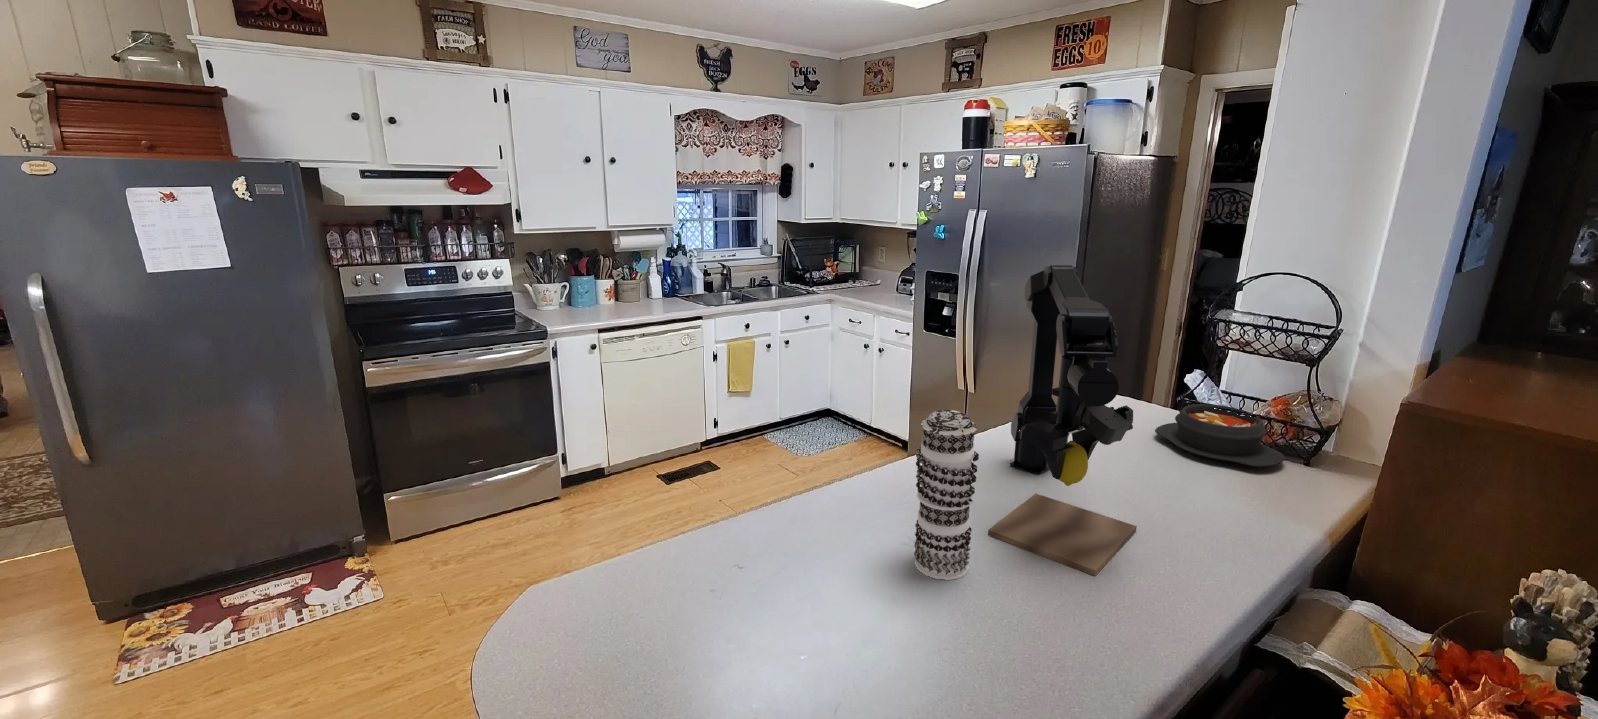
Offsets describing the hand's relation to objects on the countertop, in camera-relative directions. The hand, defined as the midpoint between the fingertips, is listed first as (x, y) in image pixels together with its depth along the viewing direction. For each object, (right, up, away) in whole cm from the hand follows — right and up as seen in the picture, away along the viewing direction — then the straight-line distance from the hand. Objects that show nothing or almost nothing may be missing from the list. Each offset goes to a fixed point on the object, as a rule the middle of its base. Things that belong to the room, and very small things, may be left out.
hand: (1068, 474), depth 114 cm
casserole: (+46, -1, +35) cm, 58 cm away
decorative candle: (-22, -13, -6) cm, 27 cm away
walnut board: (0, -10, +3) cm, 11 cm away
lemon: (0, -2, +1) cm, 2 cm away
